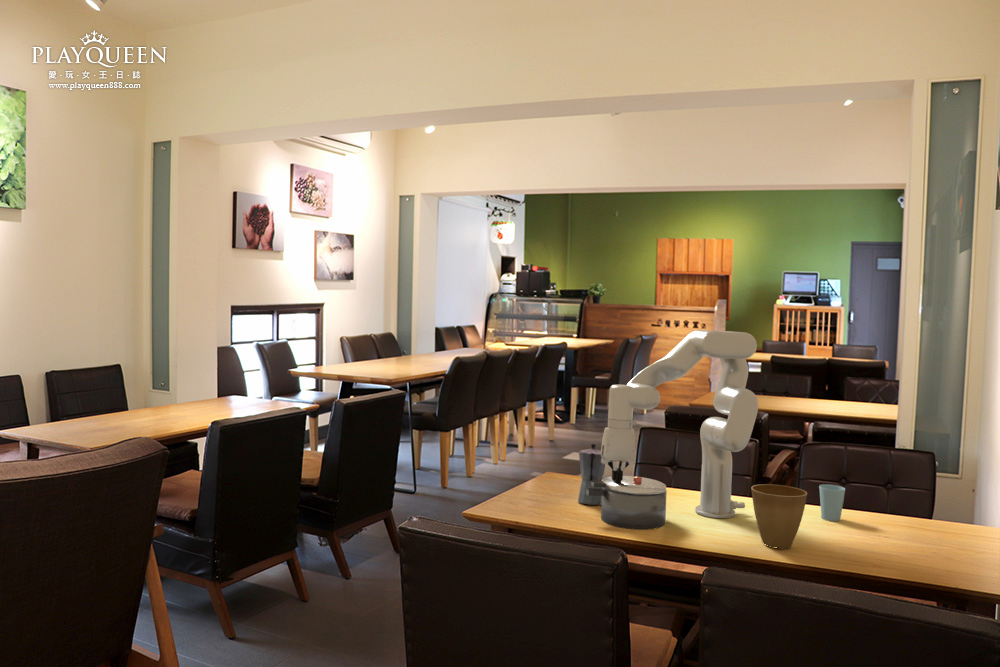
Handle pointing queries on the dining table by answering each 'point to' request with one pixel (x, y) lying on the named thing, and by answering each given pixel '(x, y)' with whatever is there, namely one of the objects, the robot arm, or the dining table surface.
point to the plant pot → (778, 513)
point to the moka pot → (590, 474)
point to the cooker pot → (631, 509)
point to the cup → (831, 501)
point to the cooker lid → (633, 485)
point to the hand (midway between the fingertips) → (616, 482)
